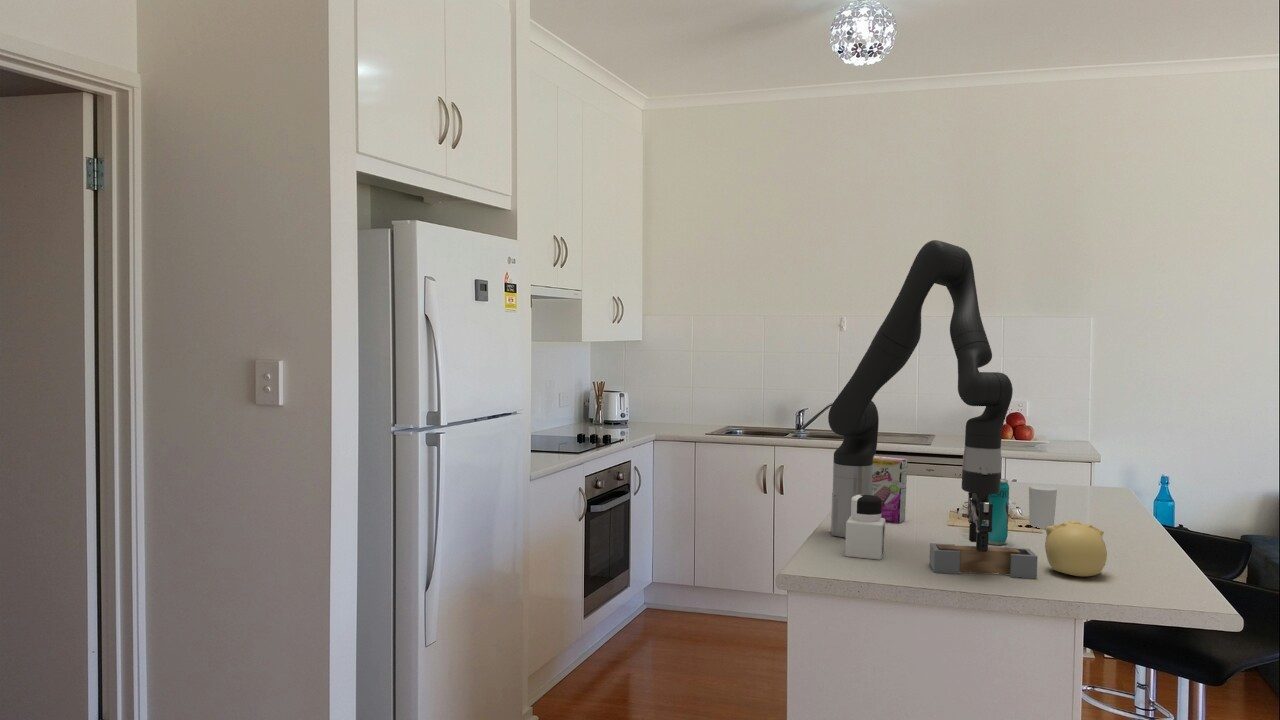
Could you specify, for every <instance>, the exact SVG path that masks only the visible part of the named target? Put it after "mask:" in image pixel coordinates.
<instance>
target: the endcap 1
mask: <svg viewBox="0 0 1280 720" xmlns="http://www.w3.org/2000/svg"><path fill="white" fill-rule="evenodd" d="M936 545H955V544H953V543H952V544H950V543H949V544H948V543H937V542H936V543H933V542H930V543H929V566H930V569H931V570H932V571H933V573H937V574H951V575H952V574H956V575H960V572H959V568H960V551H951V550H939V549H938V547H937V546H936Z"/></svg>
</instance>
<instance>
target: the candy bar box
mask: <svg viewBox="0 0 1280 720" xmlns="http://www.w3.org/2000/svg"><path fill="white" fill-rule="evenodd" d="M872 465H873V470H872V495H873V496H877V497H879V498H880V499H881V500H882V513H881V517H880V518H884V519H885V523H890V524H891V523H893V524H901V523H903V522H905V521H906V505H907V504H906V503H907V502H906V501H907V477H908V475H907V474H908V459H907V458H902V457H901V458H900V457H899V458H898V457H889V456H881V455H874V457H873V464H872Z"/></svg>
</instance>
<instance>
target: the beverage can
mask: <svg viewBox="0 0 1280 720" xmlns="http://www.w3.org/2000/svg"><path fill="white" fill-rule="evenodd" d="M1009 501H1010V486H1009V479H1006V478H1001V482H1000V492H999V493H997V494H990V495H989V502H991V503H992V504H993V510H992V532H991V533H990V534H989V536H988V545H993V546H994V545H995V546H1002V545H1005V543H1006V542H1007V539H1008V534H1009V533H1008V531H1009V509H1010V508H1009V505H1010V502H1009ZM982 526H986V524H983V523H982Z"/></svg>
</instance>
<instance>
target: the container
mask: <svg viewBox="0 0 1280 720" xmlns="http://www.w3.org/2000/svg"><path fill="white" fill-rule="evenodd" d="M881 513H882V500H881V499H880V498H879V497H877V496H873V495H856V496H854V497H852V498H851V515H852V516H850V517H849V519H848V520H847V522H846V538H845V542H844V543H845V551H844V556H845V557H848V558H849V557H850V558H859V559H871V560H877V561H878V560H879V561H880V560H882V558H883V556H884V554H885V543H886V541H885V539H886V522H885V519H884V518H880V517H881Z"/></svg>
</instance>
